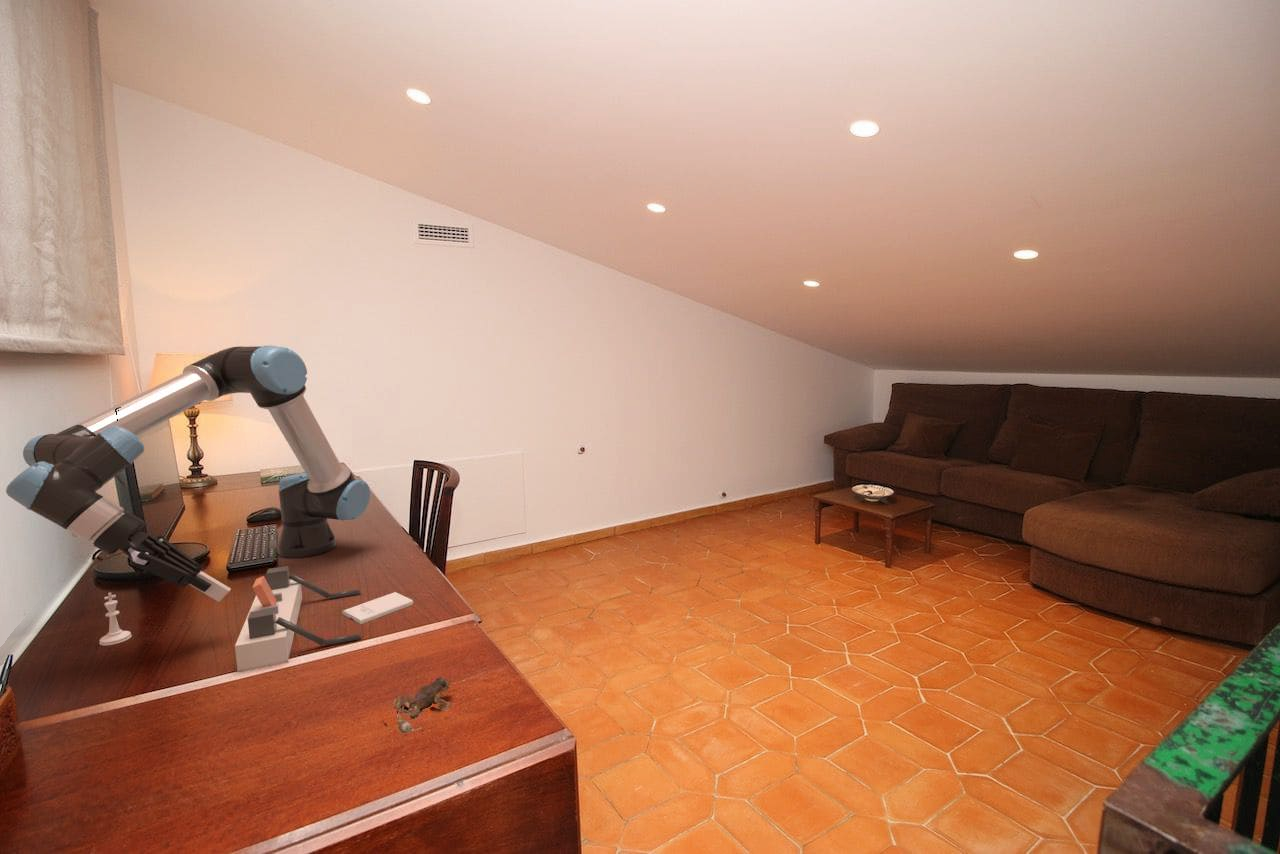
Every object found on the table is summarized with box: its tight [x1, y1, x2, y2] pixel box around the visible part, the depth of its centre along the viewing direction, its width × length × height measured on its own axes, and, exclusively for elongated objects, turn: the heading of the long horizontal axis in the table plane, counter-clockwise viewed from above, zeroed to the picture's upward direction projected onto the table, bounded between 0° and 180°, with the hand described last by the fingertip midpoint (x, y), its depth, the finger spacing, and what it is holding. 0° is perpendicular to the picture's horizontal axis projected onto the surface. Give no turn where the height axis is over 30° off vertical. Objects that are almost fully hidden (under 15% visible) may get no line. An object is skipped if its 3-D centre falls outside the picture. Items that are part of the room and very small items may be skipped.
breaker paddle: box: [251, 575, 276, 607], centre depth 121 cm, size 2×5×6 cm, turn 25°
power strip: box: [234, 565, 362, 672], centre depth 125 cm, size 21×32×9 cm, turn 26°
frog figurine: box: [393, 677, 452, 733], centre depth 95 cm, size 12×12×4 cm
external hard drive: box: [341, 591, 414, 625], centre depth 132 cm, size 2×8×12 cm
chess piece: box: [99, 592, 132, 646], centre depth 118 cm, size 5×5×10 cm
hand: (224, 595), depth 118 cm, fingers closed
